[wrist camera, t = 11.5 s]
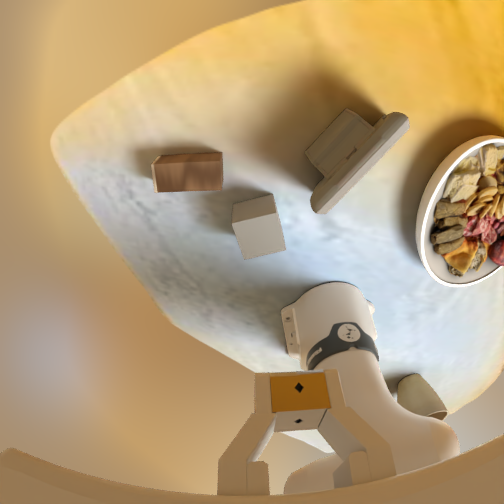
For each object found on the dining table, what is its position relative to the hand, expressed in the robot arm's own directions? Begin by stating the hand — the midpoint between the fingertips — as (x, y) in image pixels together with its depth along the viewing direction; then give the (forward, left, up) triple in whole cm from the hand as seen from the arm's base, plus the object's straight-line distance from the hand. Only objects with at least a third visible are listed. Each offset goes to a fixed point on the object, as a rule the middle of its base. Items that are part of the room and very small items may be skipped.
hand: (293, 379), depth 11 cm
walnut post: (-4, +14, -33) cm, 36 cm away
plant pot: (-65, -46, -35) cm, 87 cm away
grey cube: (-12, 0, -35) cm, 37 cm away
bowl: (-9, -40, -36) cm, 54 cm away
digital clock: (-1, -12, -35) cm, 37 cm away
